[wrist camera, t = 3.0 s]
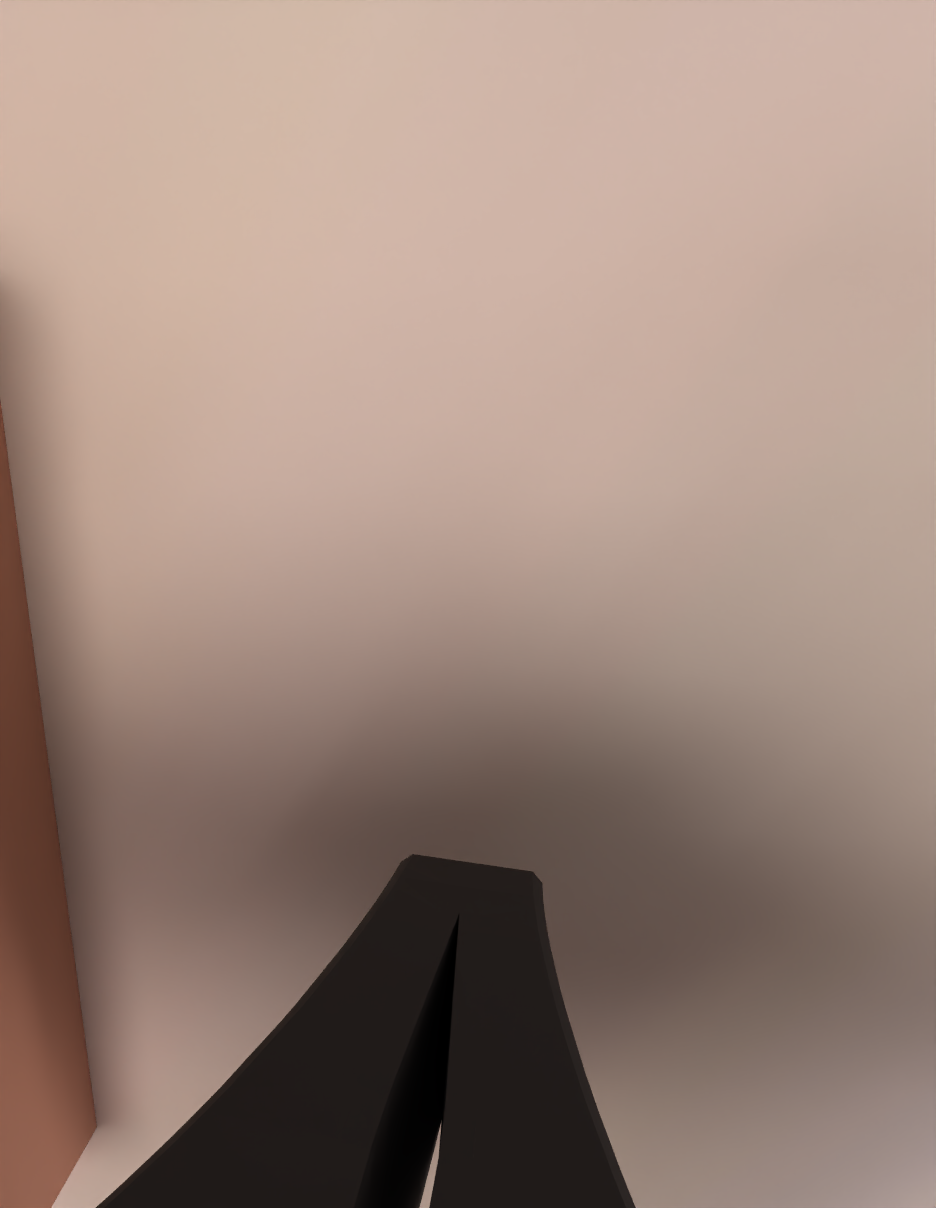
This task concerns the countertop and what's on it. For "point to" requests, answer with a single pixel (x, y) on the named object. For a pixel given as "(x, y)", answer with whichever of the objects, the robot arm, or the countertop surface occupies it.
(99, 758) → the countertop surface
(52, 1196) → the t block
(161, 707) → the countertop surface
